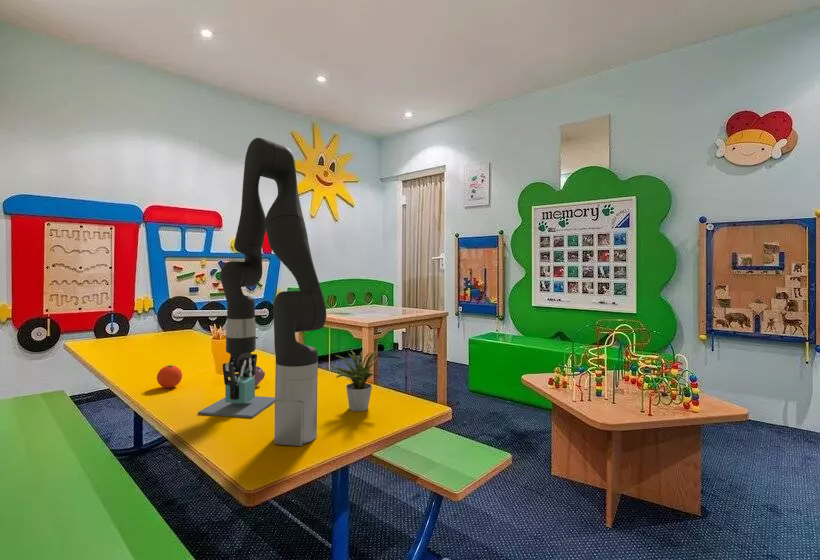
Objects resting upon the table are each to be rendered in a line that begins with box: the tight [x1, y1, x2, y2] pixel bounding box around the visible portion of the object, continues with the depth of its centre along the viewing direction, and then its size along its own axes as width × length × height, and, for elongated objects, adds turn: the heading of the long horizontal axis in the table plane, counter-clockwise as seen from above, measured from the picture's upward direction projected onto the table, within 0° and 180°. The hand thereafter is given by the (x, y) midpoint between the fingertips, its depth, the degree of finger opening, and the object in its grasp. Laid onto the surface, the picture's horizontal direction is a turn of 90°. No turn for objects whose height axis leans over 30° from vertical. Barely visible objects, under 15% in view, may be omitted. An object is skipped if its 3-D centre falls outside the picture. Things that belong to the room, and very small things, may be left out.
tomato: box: [156, 364, 183, 389], centre depth 131 cm, size 8×7×7 cm
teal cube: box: [224, 377, 256, 403], centre depth 114 cm, size 6×6×6 cm
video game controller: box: [252, 365, 266, 387], centre depth 136 cm, size 10×5×7 cm, turn 48°
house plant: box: [331, 350, 381, 412], centre depth 116 cm, size 14×14×16 cm
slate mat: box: [197, 395, 275, 419], centre depth 114 cm, size 15×15×1 cm
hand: (240, 395), depth 114 cm, fingers closed on teal cube, 5 cm apart
